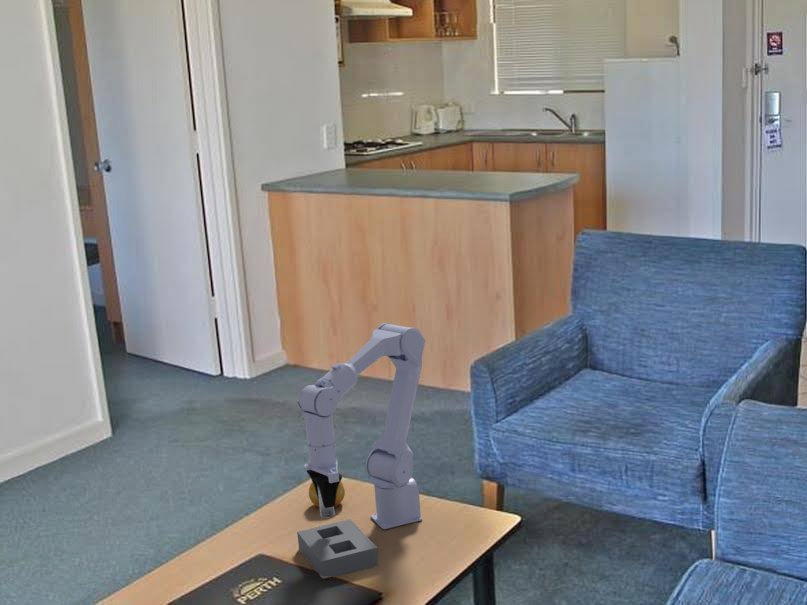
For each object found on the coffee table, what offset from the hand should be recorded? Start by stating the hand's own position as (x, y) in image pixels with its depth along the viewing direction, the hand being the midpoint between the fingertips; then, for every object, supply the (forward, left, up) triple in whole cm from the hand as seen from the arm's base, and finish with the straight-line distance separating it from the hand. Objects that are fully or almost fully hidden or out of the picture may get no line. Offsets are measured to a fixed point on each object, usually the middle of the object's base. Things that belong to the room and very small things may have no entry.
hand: (326, 503), depth 220 cm
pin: (0, 0, -2) cm, 3 cm away
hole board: (0, +4, -10) cm, 11 cm away
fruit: (-7, -23, -11) cm, 26 cm away
